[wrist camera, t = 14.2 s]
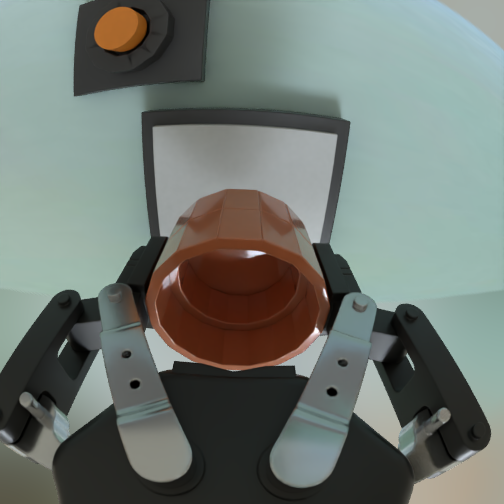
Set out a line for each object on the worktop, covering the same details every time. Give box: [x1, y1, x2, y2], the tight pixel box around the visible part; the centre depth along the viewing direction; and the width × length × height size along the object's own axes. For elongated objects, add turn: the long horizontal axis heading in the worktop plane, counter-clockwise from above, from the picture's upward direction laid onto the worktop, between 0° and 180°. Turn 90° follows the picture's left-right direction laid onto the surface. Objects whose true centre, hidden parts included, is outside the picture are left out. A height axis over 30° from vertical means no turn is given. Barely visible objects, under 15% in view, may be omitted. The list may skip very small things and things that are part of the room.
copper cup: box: [145, 189, 330, 370], centre depth 12 cm, size 6×6×5 cm
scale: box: [142, 108, 350, 244], centre depth 20 cm, size 14×12×3 cm
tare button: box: [94, 7, 147, 52], centre depth 11 cm, size 3×3×2 cm
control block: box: [74, 0, 210, 96], centre depth 13 cm, size 10×8×3 cm
